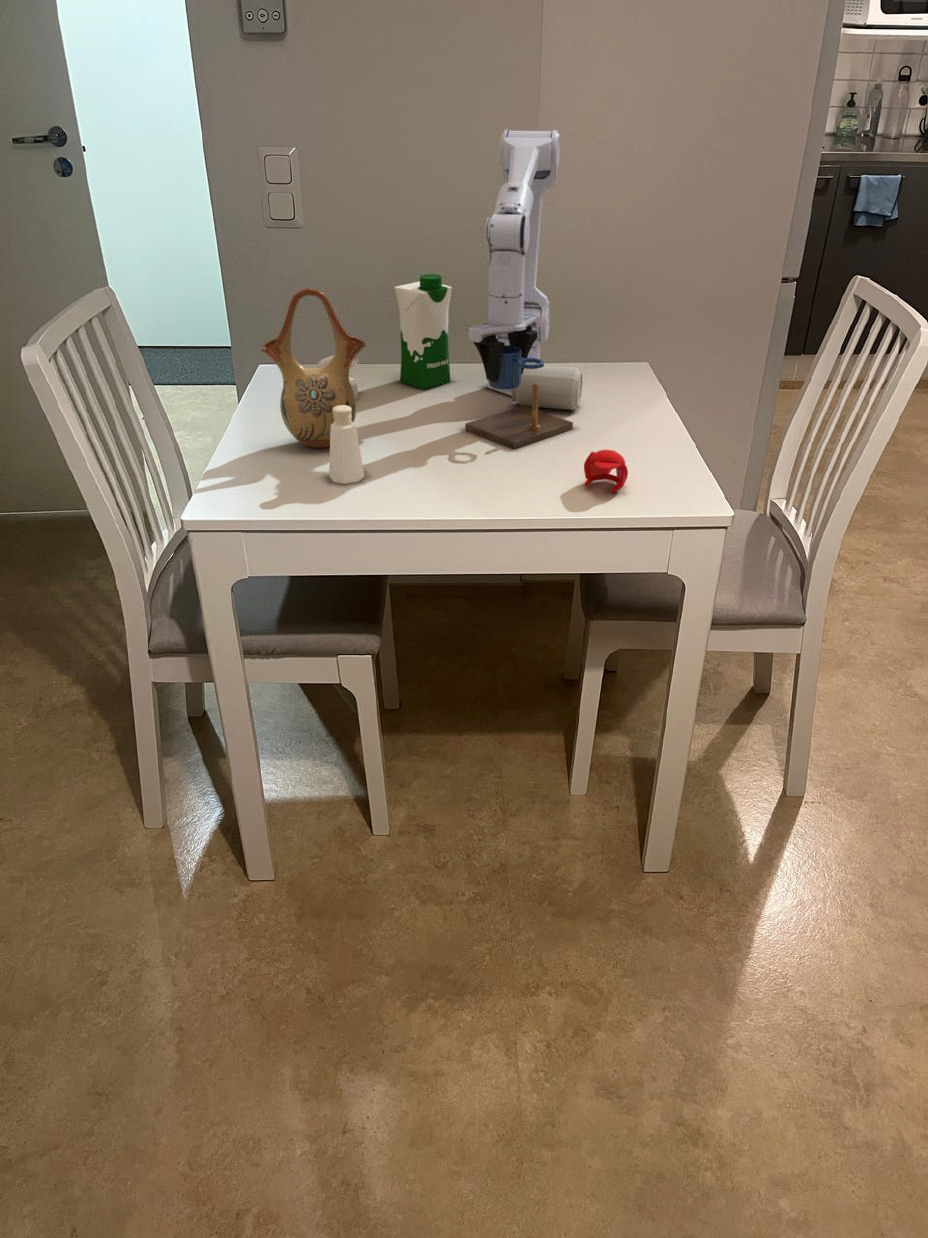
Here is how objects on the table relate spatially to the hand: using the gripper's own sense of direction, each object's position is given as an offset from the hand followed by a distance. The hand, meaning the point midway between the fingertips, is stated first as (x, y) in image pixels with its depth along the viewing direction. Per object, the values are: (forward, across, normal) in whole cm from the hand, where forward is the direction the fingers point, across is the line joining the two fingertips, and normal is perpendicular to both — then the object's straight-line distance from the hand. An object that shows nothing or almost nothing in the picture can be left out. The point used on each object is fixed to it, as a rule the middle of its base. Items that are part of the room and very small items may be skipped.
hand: (504, 376), depth 161 cm
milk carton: (+8, +5, +27) cm, 29 cm away
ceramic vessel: (+8, -29, +13) cm, 33 cm away
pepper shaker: (+8, -34, -1) cm, 35 cm away
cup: (+1, 0, -3) cm, 3 cm away
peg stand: (+8, 0, -4) cm, 9 cm away
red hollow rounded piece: (+8, -8, -30) cm, 32 cm away
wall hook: (+8, -13, +31) cm, 35 cm away
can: (+5, +15, -4) cm, 16 cm away
